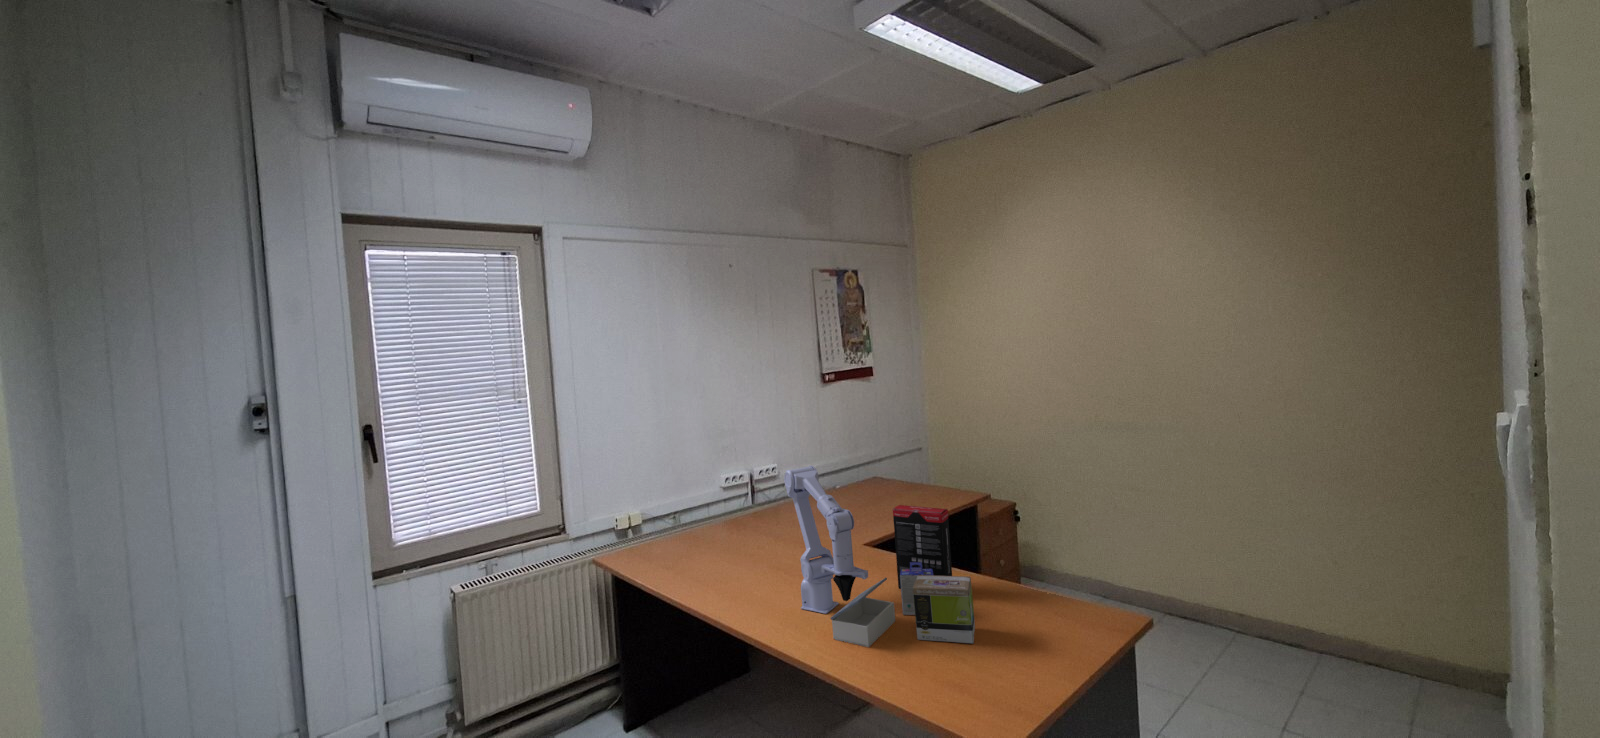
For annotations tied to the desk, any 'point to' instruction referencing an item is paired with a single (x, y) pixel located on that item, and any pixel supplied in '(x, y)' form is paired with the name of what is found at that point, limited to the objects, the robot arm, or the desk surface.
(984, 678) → the desk surface
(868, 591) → the box lid
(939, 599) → the tea box
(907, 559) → the graphics card box
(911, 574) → the ink cartridge box
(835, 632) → the storage box
